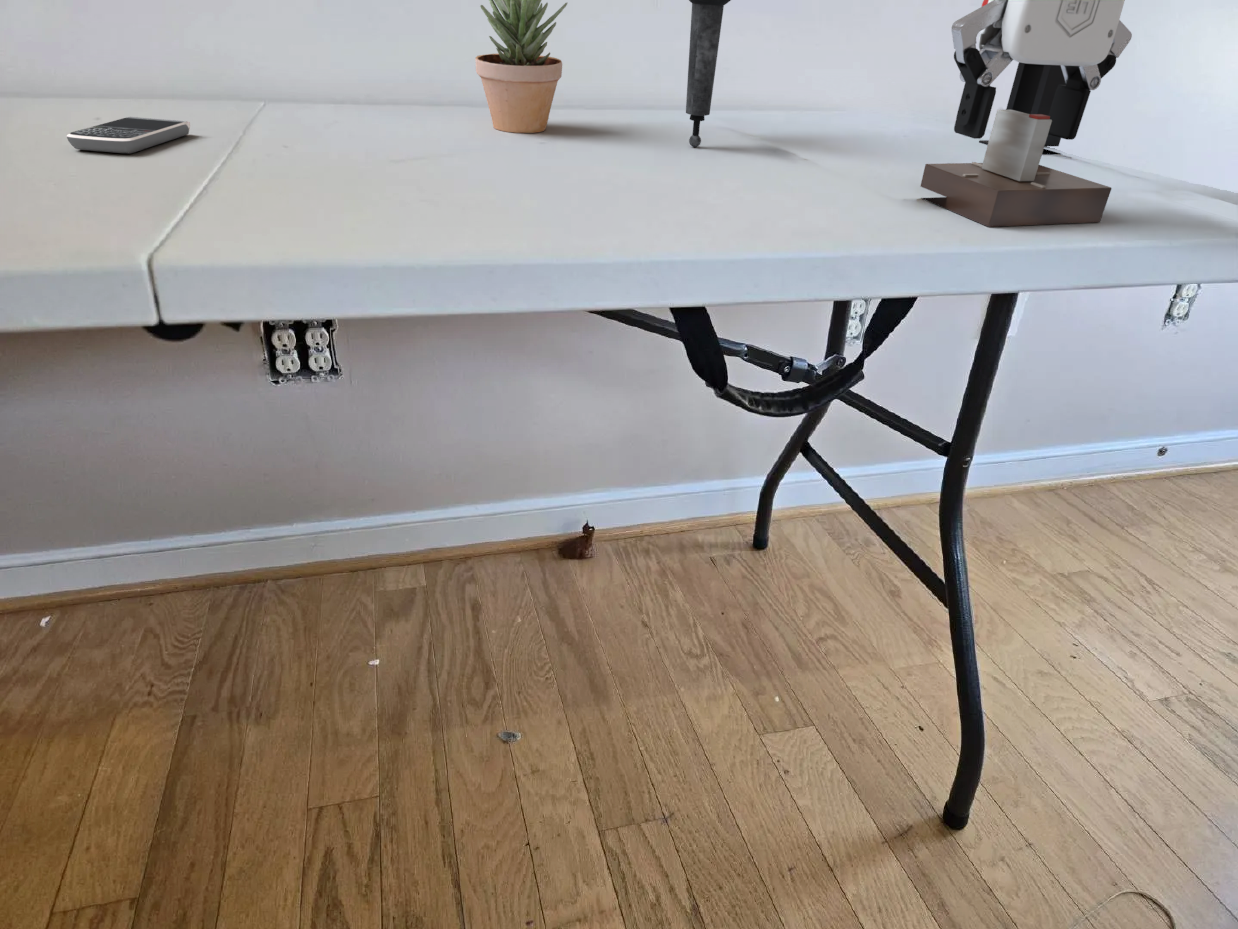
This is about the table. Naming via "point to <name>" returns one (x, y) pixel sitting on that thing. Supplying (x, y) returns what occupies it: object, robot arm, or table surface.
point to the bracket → (1035, 93)
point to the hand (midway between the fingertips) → (1014, 135)
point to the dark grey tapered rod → (702, 60)
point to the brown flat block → (1015, 195)
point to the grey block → (1016, 144)
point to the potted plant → (519, 67)
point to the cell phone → (128, 134)
